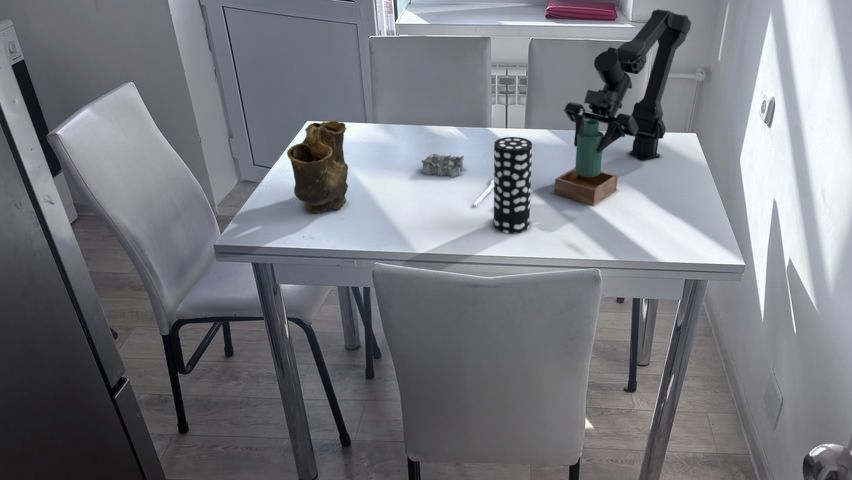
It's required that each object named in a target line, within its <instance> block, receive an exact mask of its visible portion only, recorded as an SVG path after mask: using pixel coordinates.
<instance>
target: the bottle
mask: <svg viewBox="0 0 852 480" xmlns="http://www.w3.org/2000/svg"><path fill="white" fill-rule="evenodd" d="M599 126H600V122H598V121H595V120H589V119H587V120H586V121H585V122H584V130H582V131H580V132H578V135H577V147H576V151H575V164H574V165H575V167H574V168H575V172H576V174H578V175H580V176H584V177H594V176H597V175H599V174H600V171H601V170H602V169H601V168H602V160H603V159H602V158H603V151H601V152H600V153H598V151H597V150H598V147H599V145H600V143H601V141H602V139H603V137H604V135H605V133H603V132H601V131H600V130H599Z"/></svg>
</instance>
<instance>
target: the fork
mask: <svg viewBox="0 0 852 480" xmlns="http://www.w3.org/2000/svg"><path fill="white" fill-rule="evenodd" d="M493 189H494V177H493V179H492V180H491V181H490V182H489V185H488V187H486V189H485V190H484V191H483V193H482V194H481V195H480V196H479V197H478V198H477V199H476V200H475V202H474V203H473V207H477V205H479V204H480V202H482V200H483V199H484V198H485V197H486V196H487V195H488V194H489V193H490V192H491V191H492V190H493Z"/></svg>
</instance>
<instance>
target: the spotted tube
mask: <svg viewBox="0 0 852 480" xmlns="http://www.w3.org/2000/svg"><path fill="white" fill-rule="evenodd" d="M493 144H494V145H493V178H494V187H493V227H494V229H496V230H497V231H499V232H501V233H505V234H519V233H523V232H525V231H527V230H528V229H529V228H530V218H531V217H530V216H531V191H532V190H531V189H532V187H531V185H532V163H533V162H532V161H533V160H532V159H533V142H532V141H531V140H529V139H527V138H524V137H518V136H506V137H501V138H498V139H496V140H495V141H494V143H493Z"/></svg>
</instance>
